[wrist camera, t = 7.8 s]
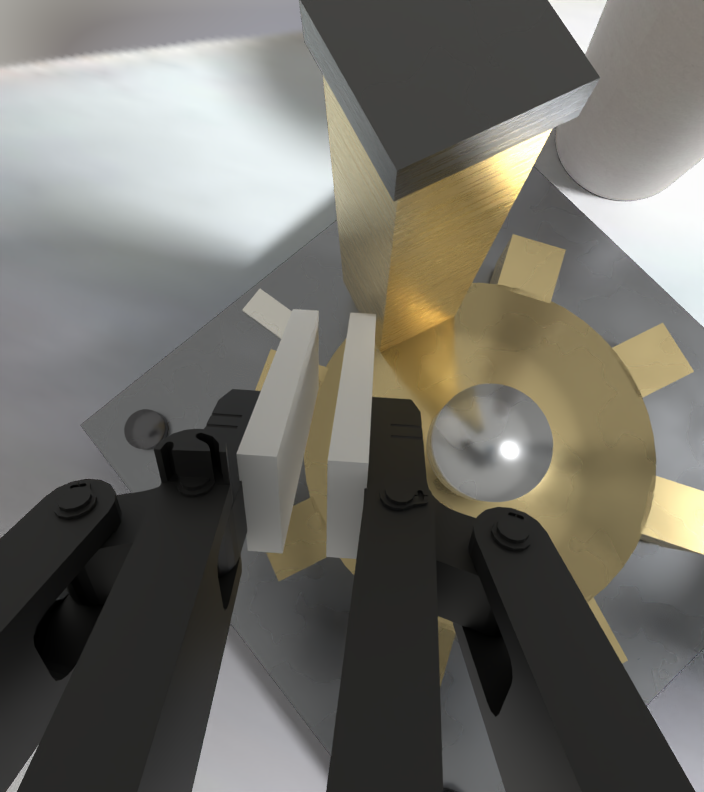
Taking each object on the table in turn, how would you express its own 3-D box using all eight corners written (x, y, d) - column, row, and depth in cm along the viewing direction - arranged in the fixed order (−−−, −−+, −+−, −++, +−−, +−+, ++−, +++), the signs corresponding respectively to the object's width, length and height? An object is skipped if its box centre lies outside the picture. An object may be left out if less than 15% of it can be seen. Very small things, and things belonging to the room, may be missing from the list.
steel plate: (810, 483, 22) (1030, 479, 15) (436, 856, 20) (478, 1068, 12) (463, 146, 25) (503, 9, 18) (110, 432, 23) (-6, 405, 16)
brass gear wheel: (755, 550, 19) (1646, 688, 6) (372, 755, 18) (394, 1482, 5) (539, 201, 22) (808, -239, 9) (198, 363, 21) (-89, 144, 8)
